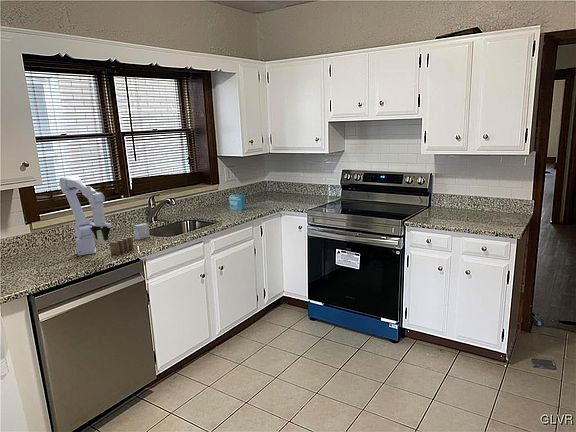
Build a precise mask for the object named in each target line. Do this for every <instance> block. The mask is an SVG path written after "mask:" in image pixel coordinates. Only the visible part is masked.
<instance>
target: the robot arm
mask: <svg viewBox="0 0 576 432" xmlns="http://www.w3.org/2000/svg"><path fill="white" fill-rule="evenodd" d="M59 187H60V190H61V192H62V194H64V195H65V197H66V199H67V202H68V204H69V207H70V209H71V211H72V214H73V216H74V219H75V221H76V223H74V225H73V230H74V235H75V237H77V238H75V243H76V253H77V256H84V255H85V256H86V255H90V254H96V253H97V248H96V245H95V240H96V241H98V239H97V232H96V231H97V230H101V232H102V234H103V239H104V241H106V240H107V241H108V240H109V235H110V231H111V229H112V228H113V225H112V223H111V222H106V214H105V207H104V203H105V200H106V197H105V195H104V193H103V192H102V191H97V190H95V189H94V188H93V187H92V186H90V185H85V183H84V182H82V179H81V177H80V176H79V175H74V176H73V175H72V176H67V177H60V179H59ZM80 191H81V194H82V196H84V197H85V198H86V199H87V200H88V202H89V205H90V208H91V210H92V218H93V221H91V220H89V219H87V217H86V216H85V213H84V210H83V207H82V206H81V204H80V201H79V198H78V196H77V193H78V192H80ZM94 238H95V239H94Z"/></svg>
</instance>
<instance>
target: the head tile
mask: <svg viewBox="0 0 576 432" xmlns="http://www.w3.org/2000/svg"><path fill="white" fill-rule="evenodd" d="M123 238H128V242H129V250H134V249H135V246H134V240H133V239H134V238H133V236H127V235H126V236H123Z"/></svg>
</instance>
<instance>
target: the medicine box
mask: <svg viewBox="0 0 576 432" xmlns="http://www.w3.org/2000/svg"><path fill="white" fill-rule="evenodd" d="M149 227H150V226H149V223H145V222H144V223H140V224H135V225H133V232H134V239H135V240H143V239H147V238H150V228H149Z"/></svg>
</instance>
